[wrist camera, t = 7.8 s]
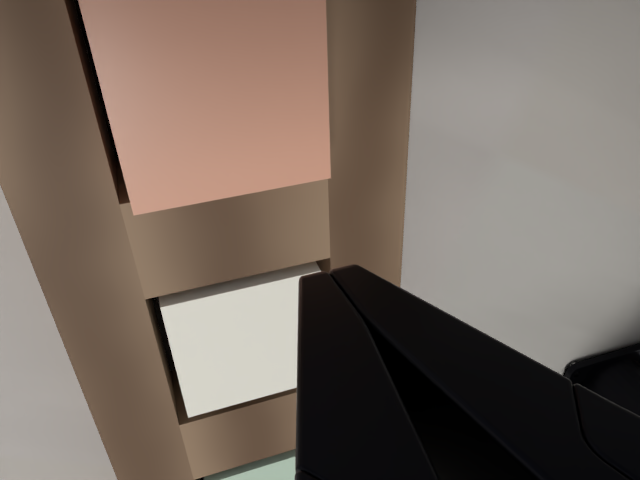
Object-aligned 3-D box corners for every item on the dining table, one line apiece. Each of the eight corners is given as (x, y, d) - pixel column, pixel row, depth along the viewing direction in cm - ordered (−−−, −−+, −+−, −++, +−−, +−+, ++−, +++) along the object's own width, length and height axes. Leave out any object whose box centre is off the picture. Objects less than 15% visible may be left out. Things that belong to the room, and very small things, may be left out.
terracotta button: (290, -49, 16) (325, -32, 14) (301, 138, 19) (330, 178, 17) (78, -30, 15) (76, -8, 12) (127, 167, 18) (133, 215, 15)
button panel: (378, -192, 16) (427, -200, 14) (366, 480, 34) (386, 527, 32) (-105, -179, 13) (-148, -187, 11) (161, 547, 31) (167, 604, 29)
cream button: (296, 227, 23) (320, 270, 20) (304, 331, 26) (325, 379, 23) (152, 257, 21) (160, 307, 19) (178, 363, 24) (188, 417, 22)
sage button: (308, 397, 28) (328, 446, 26) (313, 465, 31) (331, 514, 29) (195, 429, 27) (205, 484, 25) (211, 497, 30) (222, 551, 28)
